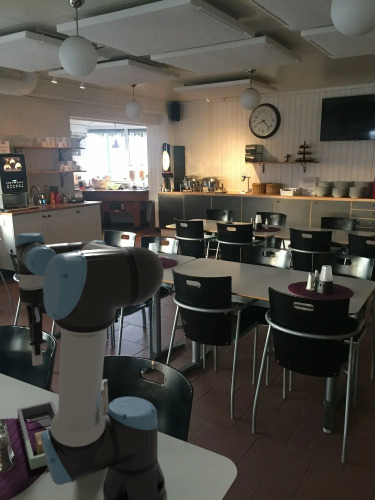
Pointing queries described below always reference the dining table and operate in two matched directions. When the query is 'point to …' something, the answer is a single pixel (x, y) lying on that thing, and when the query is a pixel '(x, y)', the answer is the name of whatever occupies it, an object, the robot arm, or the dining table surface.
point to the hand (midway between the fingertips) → (37, 363)
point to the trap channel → (37, 414)
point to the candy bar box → (104, 397)
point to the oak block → (38, 443)
